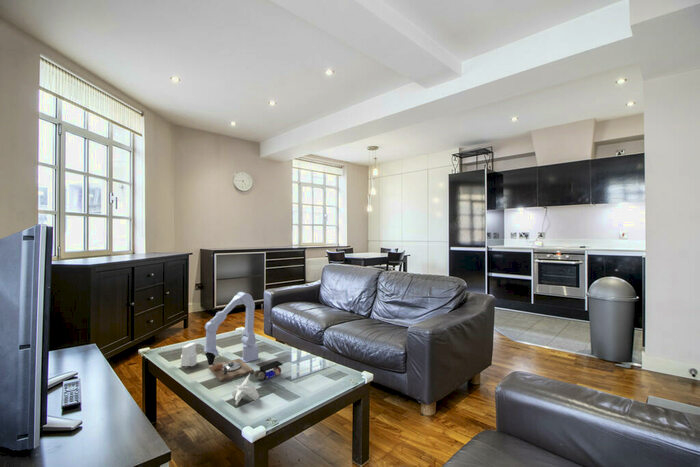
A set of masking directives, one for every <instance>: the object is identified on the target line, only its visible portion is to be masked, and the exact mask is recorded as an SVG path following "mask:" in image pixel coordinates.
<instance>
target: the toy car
mask: <svg viewBox="0 0 700 467" xmlns="http://www.w3.org/2000/svg"><path fill="white" fill-rule="evenodd" d="M283 365H284V364H283V363H281V361H278V360H276V361H272V362H269V363H266V364H264V365H262V366H259V369H255V370H254V372H253V376H254V377H255V378H258V381H260V382H261V383H263V382H264V381H266V380H267V379H269V378H273V377H274V376H275V377H278V376H280V375H281V373H282V369H281V367H280V366H283Z"/></svg>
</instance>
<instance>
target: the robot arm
mask: <svg viewBox="0 0 700 467" xmlns="http://www.w3.org/2000/svg"><path fill="white" fill-rule="evenodd" d="M240 305H244V306H245V317H244V318H245V320H244V331H243V332H242V335H241V339H240V341H241V343H242V357H240V358H239V359H241V360H242V361H243V362H244V363H248V362H252V361H255V360H256V361H257V360H259V359H260V358H259V345H258V344H257V339H256V333H255V331H254V325H255V310H256V309H255V308H256V304H255V301H254V299H253V296H252V295H251V294H250V293H246V292H243V291H238V292H237V294H235V295H234V296H233V298H232V299H231V301H229V302H228V304H227V305H226V306H225V308H223V310H220V311H218V312H216V313H215V316H214V317H212V318H211V319H210V320H209V321H207V322H206V323H205V325H204V330H205V346H203V353H204V355H205V357H206V359H207V363H208V366H210V365H213V364H214V362H215V359H216V356H218V355H219V352H220V351H219V350H218V349H217V331H218V329H219V326H220V325H221V324H222V323H223V322H224V321H225V320H226V318H227V315H228V314H229V313H230V312H231V311H233V309H234V308H235V307H237V306H240Z"/></svg>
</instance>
